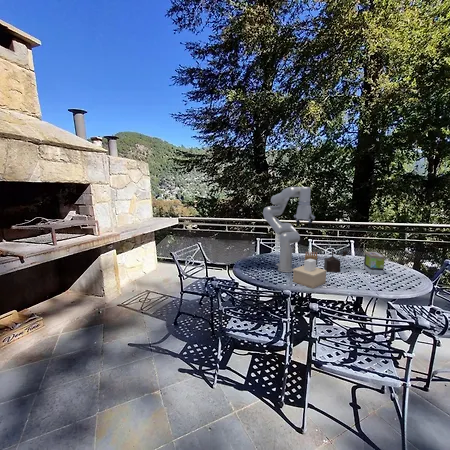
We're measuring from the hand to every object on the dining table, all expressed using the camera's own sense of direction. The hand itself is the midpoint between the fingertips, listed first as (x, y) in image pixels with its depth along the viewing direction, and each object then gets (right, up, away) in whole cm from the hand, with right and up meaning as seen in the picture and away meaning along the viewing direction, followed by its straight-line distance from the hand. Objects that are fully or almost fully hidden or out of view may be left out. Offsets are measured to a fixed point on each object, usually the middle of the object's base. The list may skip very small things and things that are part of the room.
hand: (303, 227), depth 184 cm
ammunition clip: (+18, -34, +37) cm, 53 cm away
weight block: (+2, -30, -8) cm, 31 cm away
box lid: (+2, -31, -7) cm, 32 cm away
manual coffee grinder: (+32, -36, +20) cm, 52 cm away
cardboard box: (+2, -40, -6) cm, 40 cm away
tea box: (+62, -36, +17) cm, 74 cm away
